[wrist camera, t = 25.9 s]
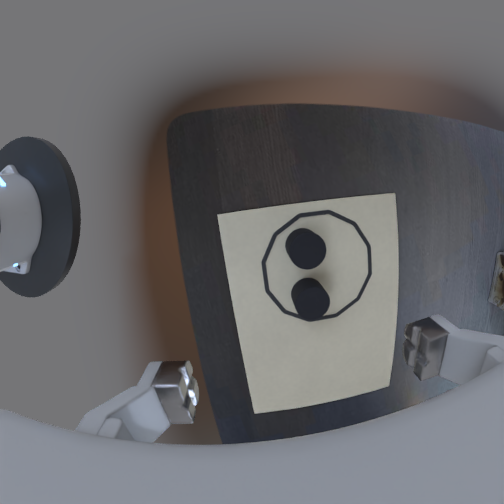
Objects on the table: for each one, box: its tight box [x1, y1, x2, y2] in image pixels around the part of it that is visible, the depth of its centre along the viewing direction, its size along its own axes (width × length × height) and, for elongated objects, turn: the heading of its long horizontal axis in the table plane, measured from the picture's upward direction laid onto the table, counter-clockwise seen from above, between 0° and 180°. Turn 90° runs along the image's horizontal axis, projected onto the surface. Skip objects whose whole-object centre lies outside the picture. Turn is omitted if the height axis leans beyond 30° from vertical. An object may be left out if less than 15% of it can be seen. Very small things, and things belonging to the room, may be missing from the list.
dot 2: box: [291, 278, 330, 320], centre depth 32 cm, size 4×4×4 cm
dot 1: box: [285, 228, 326, 270], centre depth 31 cm, size 4×4×4 cm
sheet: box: [217, 193, 399, 413], centre depth 35 cm, size 22×30×1 cm
